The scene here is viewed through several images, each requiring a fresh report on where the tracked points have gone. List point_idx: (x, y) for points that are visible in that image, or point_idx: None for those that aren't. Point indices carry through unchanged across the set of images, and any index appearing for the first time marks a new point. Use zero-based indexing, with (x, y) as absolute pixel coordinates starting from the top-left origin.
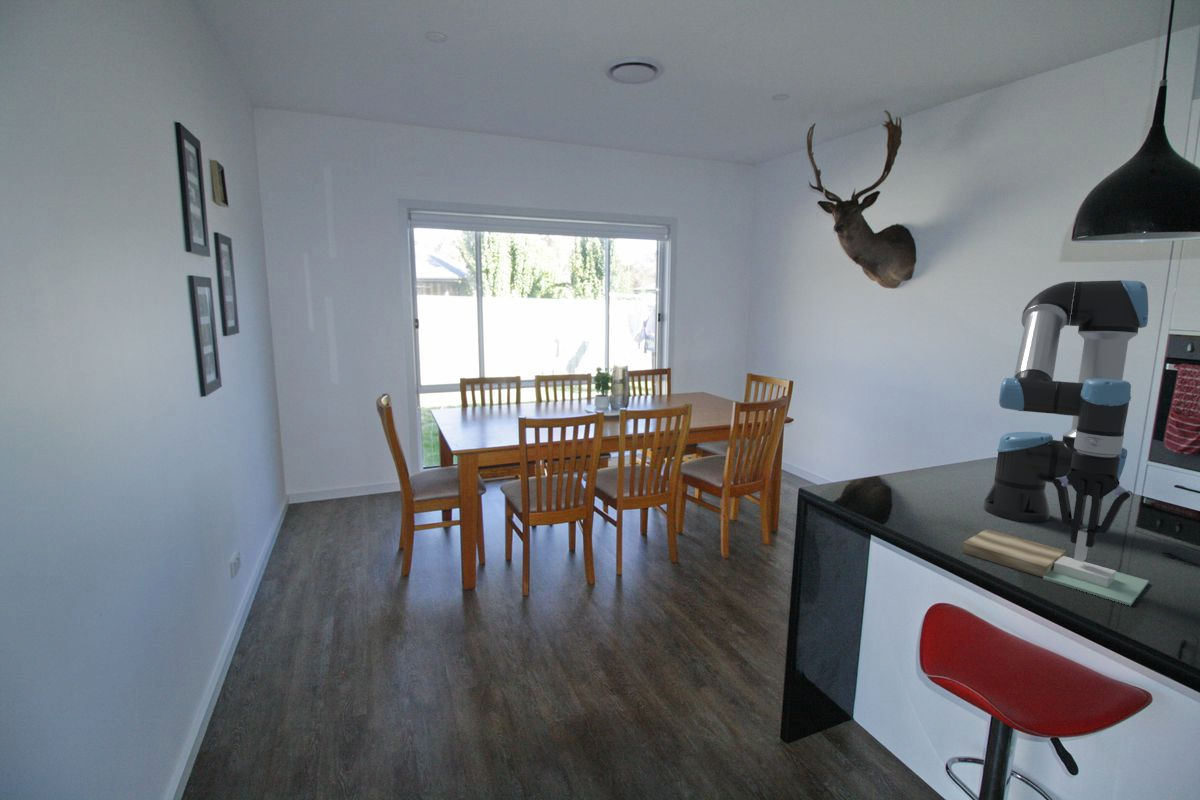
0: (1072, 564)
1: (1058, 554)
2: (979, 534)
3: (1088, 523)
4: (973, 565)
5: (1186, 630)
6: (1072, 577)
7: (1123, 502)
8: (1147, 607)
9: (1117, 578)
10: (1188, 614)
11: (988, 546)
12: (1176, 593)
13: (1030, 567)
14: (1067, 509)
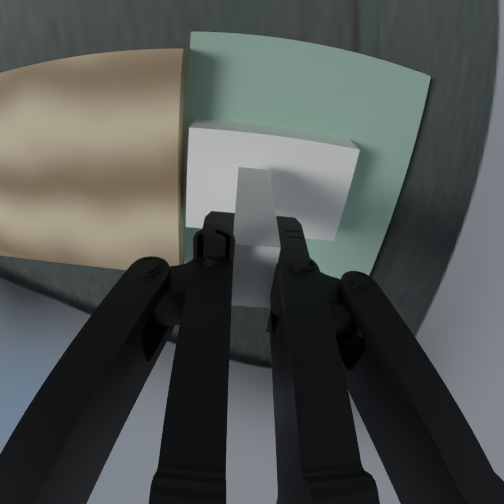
0: (232, 199)
1: (171, 121)
2: None
3: (271, 351)
4: (66, 291)
5: (427, 303)
6: None
7: (487, 460)
8: (396, 254)
9: (356, 121)
10: (458, 231)
11: (29, 237)
12: (472, 110)
13: None
14: (138, 386)
